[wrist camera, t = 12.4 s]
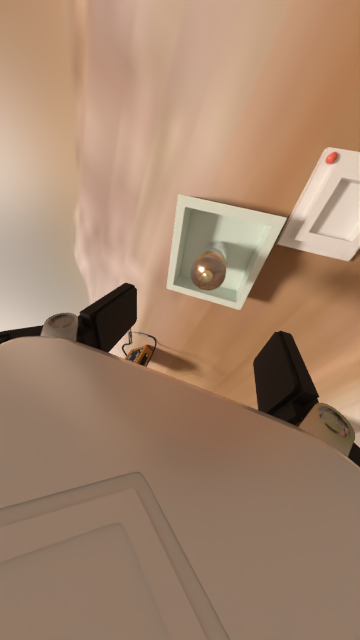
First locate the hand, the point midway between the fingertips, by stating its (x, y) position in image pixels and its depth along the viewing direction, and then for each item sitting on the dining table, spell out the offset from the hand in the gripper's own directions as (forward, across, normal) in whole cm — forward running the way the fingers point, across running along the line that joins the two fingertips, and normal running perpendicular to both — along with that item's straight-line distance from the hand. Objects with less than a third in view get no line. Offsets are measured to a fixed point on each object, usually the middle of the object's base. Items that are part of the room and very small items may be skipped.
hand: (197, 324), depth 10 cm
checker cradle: (+18, -11, -8) cm, 23 cm away
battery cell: (+17, +1, -1) cm, 17 cm away
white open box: (+18, +1, -1) cm, 18 cm away
